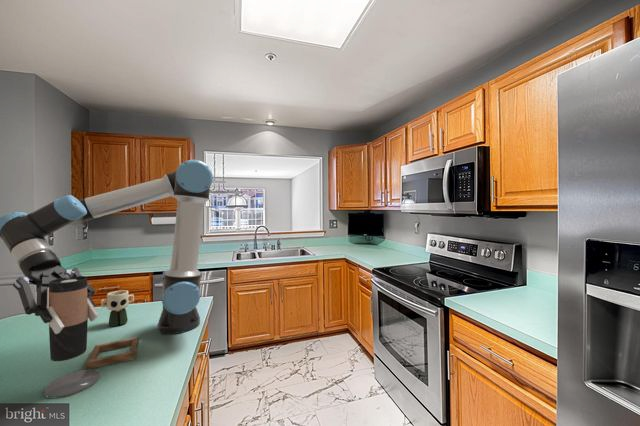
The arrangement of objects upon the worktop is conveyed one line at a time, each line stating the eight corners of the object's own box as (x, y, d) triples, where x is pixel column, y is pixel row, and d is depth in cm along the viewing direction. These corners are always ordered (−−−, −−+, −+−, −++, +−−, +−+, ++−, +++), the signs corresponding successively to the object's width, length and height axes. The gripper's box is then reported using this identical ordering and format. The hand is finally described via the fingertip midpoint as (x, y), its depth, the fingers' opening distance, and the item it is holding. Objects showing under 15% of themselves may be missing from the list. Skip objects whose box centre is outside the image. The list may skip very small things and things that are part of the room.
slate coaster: (103, 368, 81) (103, 365, 81) (94, 389, 72) (94, 386, 72) (53, 379, 76) (53, 376, 76) (36, 403, 67) (36, 400, 66)
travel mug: (64, 363, 69) (64, 284, 69) (40, 360, 71) (40, 282, 70) (95, 348, 76) (95, 276, 76) (73, 345, 78) (72, 275, 78)
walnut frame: (138, 342, 97) (138, 337, 97) (134, 359, 86) (134, 352, 86) (95, 351, 91) (95, 345, 91) (85, 369, 81) (85, 362, 81)
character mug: (101, 330, 107) (101, 297, 106) (100, 325, 112) (100, 293, 112) (135, 323, 114) (135, 291, 113) (133, 318, 119) (132, 288, 119)
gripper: (72, 261, 87) (110, 318, 83) (-23, 276, 68) (20, 351, 63) (84, 245, 86) (123, 302, 81) (-10, 255, 66) (35, 331, 62)
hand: (78, 323), depth 72 cm, fingers closed on travel mug, 7 cm apart
